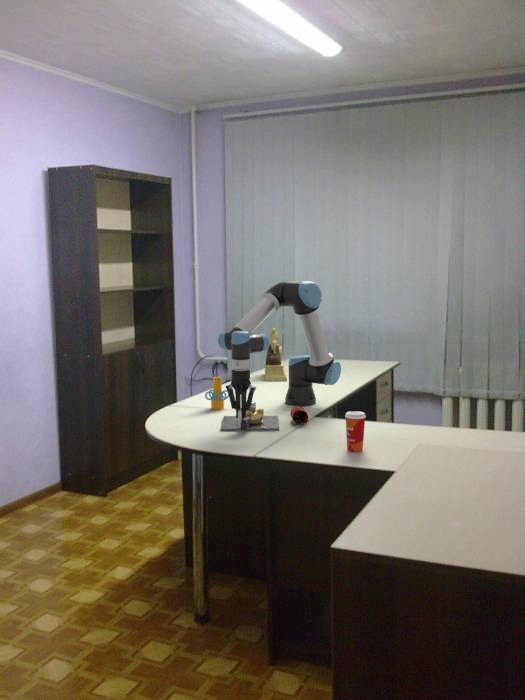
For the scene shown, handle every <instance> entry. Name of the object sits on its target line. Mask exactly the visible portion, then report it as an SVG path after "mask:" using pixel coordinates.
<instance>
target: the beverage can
mask: <svg viewBox="0 0 525 700" xmlns="http://www.w3.org/2000/svg"><path fill="white" fill-rule="evenodd" d="M290 417H291V420H292V421H293V423H294V424H295V425H298V426H300V425H301V426H305V424H307V423H308V421H309V414H308V412H307V411H306V410H305V408H304V407H303V405H294V406H293V407H292V408H291V410H290ZM296 420H297V421H296ZM299 420H300V421H299ZM299 423H300V424H299Z"/></svg>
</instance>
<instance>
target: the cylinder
mask: <svg viewBox="0 0 525 700" xmlns="http://www.w3.org/2000/svg"><path fill="white" fill-rule="evenodd" d="M222 381H223V380H222V376H213V377H212V389H211V388H210V389H209V390H208V391H206V392H205V395H204V397H205V399H206V400H207V401H210V404H211V405H210V409H211V410H214V411H215V410H217V411H218V410H219V411H220V410H223V409H225V400H227V399H228V398H229V394H228V391H227V389H224V390H222V389H223V388H222V387H223V386H222V384H223V383H222ZM226 392H227V393H226ZM207 395H208V396H209V398H208V396H207Z"/></svg>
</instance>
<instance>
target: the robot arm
mask: <svg viewBox="0 0 525 700" xmlns="http://www.w3.org/2000/svg"><path fill="white" fill-rule="evenodd" d="M321 303H322V291H321V288H320V286H319V285H318V284H317V283H316V282H313V281H309V280H296V281H295V280H285V281H284V280H283V281H281V282H278V283H276V284H274V285H273V286H271V287H270V288H269V289H267V290H266V291H265V292H264V293H262V295H261V297H260V300H259V301H258V302H257V303H256V305H254V306H253V307H252V308H251V309H250V310H249V311H248V312H247V313H246V314H245V316H243V317H242V318H241V319H240V320H239V321H238V322H237V323H236V324H235V326H233V327H232V328H231V330H229V331H222V332H220V333H219V335H218V337H217V344H218V346H219V348H221V349H222V350H227V351H231V369H232V370H231V381H230V383H229V384H227V385H225V390H227V391H228V392H227V395H228V394H229V397H228V398H229V402H230V407H231V409H232V410H233V409H234V410H235V416H236V418H238V427H241V421H242V420H243V419H245V418H246V410H248V409H250V407H251V403H252V401H253V398H254V395H255V394H254V393H255V391H256V390H257V387H256V386H253V385H252V383H251V370H250V369H251V354H254V353H262V352H264V351H266V350H268V347H269V345H270V339H269V336H267V334H265V333H254V332H255V330H257V329H258V328H259V327H260V325H262V324H263V322H264V321H266V319H267V318H268V317H269V316H270V315H271V314H272V313H273V312H277V311H278V310H279V309H280V308H283V307H290V308H291V307H292V308H293V311H294V315H297V316H298V317H299V321H300V324H301V328H302V331H303V333H304V338H305V341H306V344H307V348H308V351H309V355H297V356H292V357H290V358H289V359H288V389H287V392H286V393H285V397H284V400H285V401H284V403H285V404H287V405H289V406H310V405H315V404H316V403H317V397H316V394H315V391H314V389H313V387H314V386H313V384H316V385H317V384H318V385H325V386H333V385H335V384H336V383H338V381H339V379H340V377H341V374H342V365H341V363H340V362H339V361H337V360H335V359H334V356H333V354H332V353H331V352H329V349H328V346H327V342H326V339H325V336H324V335H325V334H324V332H323V331H324V330H323V327H322V324H321V320H320V317H319V312H318V309H319V308H320V305H321ZM248 390H249V391H248ZM247 393H248V394H247ZM246 402H247V403H246ZM240 409H241V410H240Z"/></svg>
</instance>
